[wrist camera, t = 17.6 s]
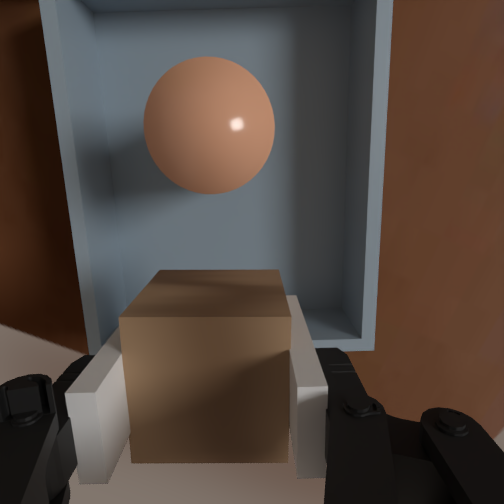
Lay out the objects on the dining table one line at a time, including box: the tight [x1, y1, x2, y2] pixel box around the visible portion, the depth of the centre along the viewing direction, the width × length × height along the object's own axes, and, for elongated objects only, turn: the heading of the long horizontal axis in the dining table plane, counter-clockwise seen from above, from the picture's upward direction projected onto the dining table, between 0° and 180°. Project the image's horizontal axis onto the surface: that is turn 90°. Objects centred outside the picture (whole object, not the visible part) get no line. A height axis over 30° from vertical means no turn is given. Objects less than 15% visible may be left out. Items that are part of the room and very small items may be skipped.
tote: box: [39, 0, 393, 355], centre depth 23 cm, size 22×18×6 cm
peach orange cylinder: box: [143, 56, 275, 194], centre depth 19 cm, size 5×5×11 cm
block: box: [119, 269, 292, 463], centre depth 14 cm, size 5×5×5 cm
